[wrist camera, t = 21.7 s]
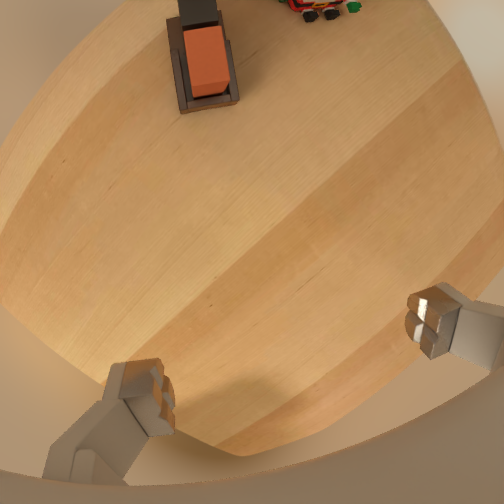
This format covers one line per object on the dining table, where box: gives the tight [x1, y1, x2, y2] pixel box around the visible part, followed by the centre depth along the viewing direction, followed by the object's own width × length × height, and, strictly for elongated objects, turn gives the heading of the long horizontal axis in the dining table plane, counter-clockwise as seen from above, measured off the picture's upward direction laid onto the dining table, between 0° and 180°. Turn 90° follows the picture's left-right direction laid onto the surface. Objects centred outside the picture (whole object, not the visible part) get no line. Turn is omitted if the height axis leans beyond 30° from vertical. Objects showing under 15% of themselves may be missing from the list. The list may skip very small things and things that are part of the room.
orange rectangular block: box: [183, 26, 230, 100], centre depth 24 cm, size 3×5×9 cm, turn 9°
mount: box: [166, 0, 240, 114], centre depth 24 cm, size 6×12×10 cm, turn 9°
